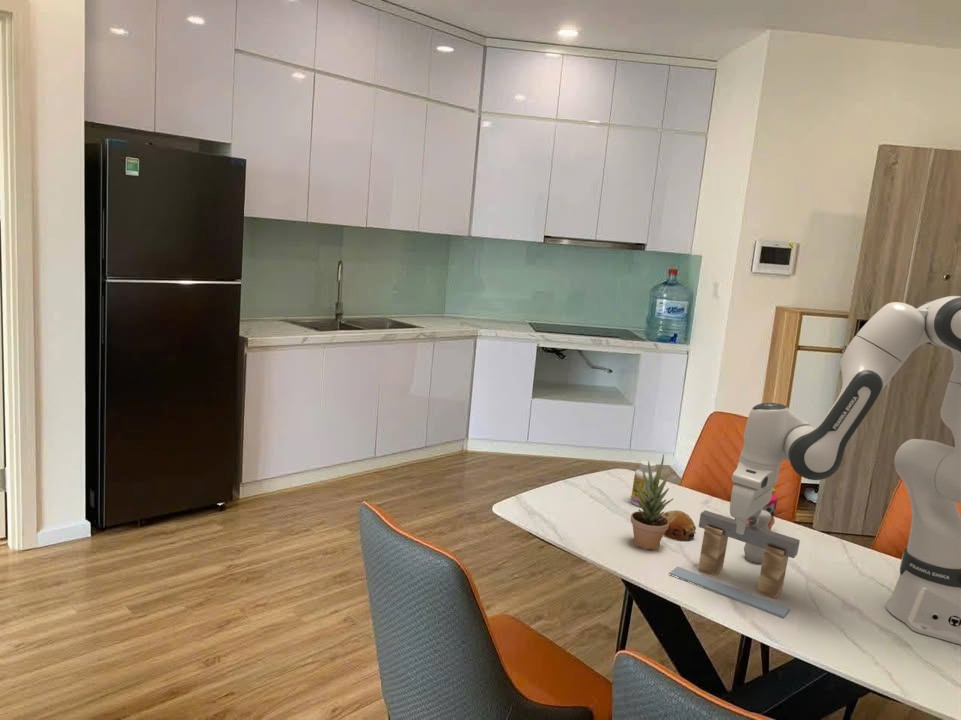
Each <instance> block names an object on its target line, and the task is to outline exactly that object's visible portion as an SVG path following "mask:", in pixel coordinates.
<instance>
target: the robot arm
mask: <svg viewBox="0 0 961 720" xmlns="http://www.w3.org/2000/svg"><path fill="white" fill-rule="evenodd" d="M924 344H927V345H930V346H936V347H938V348H943V349H949V350H950V351H951V354H952V356H953V368H952V370H951V374H950V375H949V376H950V377H949V381H948V384H947V387H946V389H945V390H946V391H945V393H944V398H943V400H942V404H941V408H940V418H941V420H942V422H943V423H944V424H945V426H947V427H948V429H949V430H950V431H951V433H952V437H953V440H954V446H951V445H948V444H945V443H942V442H940V441H936V440H930V439H922V438H921V439H920V438H910V439H907V440H906V441H905V442H903V443H902V444H901V445H900V446H899V447H898V449H897V450H896V453H895V456H894V459H893V460H894V462H893V463H894V470H895V471H896V473H897V475H898V477H900V478H901V480H902V482H903V484H904V486H905V488H906V491H907V494H908V497H909V500H910V501H909V502H910V506H911V524H910V531H909V536H908V543H907V546H906V547H905V549H904V551H903V553H902V556H901V560H900V565H899V576H898V580H897V582H896V585H895V587H894V588H893V589H894V590H893V592H892V594H891V596H890V597H889V599H888V600H887V602H886V604H885V607H886V609H887V611H888V613H890V614H891V615H892V616H894V617H895V618H897V619H898V620H900V621H901V622H903V623H904V624H906V626H907V627H909V629H910V630H912V631H913V632H916V633H917V634H922V635H925V636H929V637H932V638H936V639H939V640H943V641H946V642H950V643H953V644H956V645H957V644H958V645H960V646H961V514H960V512H959V509H958V506H957V504H959V505H961V296H960V295H950V296H945V297H936V298H932V299H930V300H927V301H925V302H923V303H921V304H918V305H916V306H913V305H911V304H908V303H905V302H899V301H898V302H897V301H894V302H893V301H892V302H888V303H886V304H885V305H883V306H882V307H881V308H880V309H879V310H877V311H876V313H875V314H873V315H872V316H871V317H870V318H869V319H868V321H866V322H865V324H864V325H863V326H862V327H861V328H860V329H859V331H858V332H857V333H856V335H854V337H853V338H852V340H851V341H850V342H849V343H848V345H847V347H846V348H845V351H844V353H843V354H842V357H841V359H840V361H839V369H840V372H841V379H842V383H841V384H842V385H841V389H840V393H839V395H838V397H837V398H836V400H835V401H834V403H833V404H832V406H831V407H830V408H829V410H828V412H827V413H826V414H825V416H824V417H823V419H822V420H821V421H820V423H819V424H818V425H816V424H814V423H812V422H810V421H807V420H805V419H803V418H801V417H800V416H798V415H797V414H795V413H794V412H793V411H792V410H791V409H790V408H789V407H788V406H787V405H784V404H782V403H776V402H763V403H762V402H761V403H759V404H756V405H754V406H753V407H752V408H751V409H750V411H749V414H748V417H747V420H746V424H745V427H744V428H745V429H744V433H743V447H742V450H740V451H741V452H740V454H739V459H738V463H737V466H736V469H735V470H734V471H733V474H732V476H731V483H734V484H733V485H732V488H731V489H732V490H731V496H730V505H729V515H730V518H733V519H735V518H736V523H737V528H736V533H738V534H741V535H743V534H744V533H745V532H746V528H747V527H746V521H747V519H748V518H749V523H750V524H753V525H756V524H757V523H758V520H759V516H760V514H761V511H762V509H763V507H764V506H765V505H767V504H768V503H769V502H770V500H771V496H772V490H773V488H774V486H775V485H777V483H778V480H779V473H780V469H781V464H782V461H788V462H789V463H790V465H791V467H792V469H793V470H794V472H795V473H796V474H798V475H799V476H800V477H802V478H804V479H807V480H810V481H822V480H825V479H828V478H830V477H832V476H833V475H835V473H836V472H837V471H838V470H839V468H840V467H841V464H842V462H843V461H842V460H843V456H844V453H845V449H846V446H847V444H848V442H849V440H850V439H851V438H852V436H853V435H854V434H855V432H856V430H857V429H858V427H859V426H860V424H861V423H862V421H864V419H865V418H866V416H867V414H868V413H869V411H870V410H871V408H872V407H873V405H874V404H875V402H876V400H877V398H878V397H879V396H880V394H881V393H882V392H883V390H884V389H885V387H886V386H887V384H888V383H889V382H890V381H891V380H892V379H893V377H894V376H895V375H896V373H898V371H899V370H900V369H901V367H902V366H903V364H904V363H905V362H906V361H907V359H908V358H909V356H910V355H911V354H912V353H913V352H914V351H915V350H916V349H917V348H919V347H921V346H922V345H924Z"/></svg>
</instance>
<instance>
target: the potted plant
mask: <svg viewBox="0 0 961 720" xmlns="http://www.w3.org/2000/svg"><path fill="white" fill-rule="evenodd" d="M664 459H665V454H662V458H661V462H660V464H659V465H658V467H657V471H656V473H657V474H655V475H656V477H654V482H653V477H652V472H651V467H650V463H649V461H650V460H647V461H648V474H649V483H650V486H649V483H648V481H647V478H646V476H645V473H644V470H643V479H644V483H645V487H646V491H647V495H646V493H645V491H644V492H643V491H642V489H641V488H640V487H639V485H638V484H637V486H638V489H639V491H640V493H641V495H642V497H643V498H644V500H645V502H644V500H643V499H642V497H641V495H640V493H639V491H638V489H637V487H636V490H637V493H638V495H639V497H640V500H641V501H640V500H639V501H638V500H636V501H637V502H638V504H639V505H640V507H639V508H638V510H637V511H634V512H632V513H631V514H630V523H631V524H632V531H633V542H634V545H635V544H636V545H635V546H637V545H638V546H639V548H640V547H642V548H641V549H643V548H646V549H645V550H648V549H655V550H657V549H658V548H659V547H660V545H661V540H662V538H663V537H664V533H665V531H666V530H667V529H668V527H669V520H668V519H667V518H666V517H664V516H662V514H663V513H665V511H663V510H664V509H665V508H666V506H667V505H668V504H669V503H671V502H672V501H673V500H674V498H671V499H669V500H668V501H667V499H664V498H665V496H666V495H667V493H668V492H669V490H670V488H669V487H668V488H667V489H665V488H664V487H665V486H666V484H667V481H668V476H666V477H665V478H664V479H663V480H662V482H661V484H660V479H661V475H662V471H663V467H664V463H665V461H664ZM664 489H665V490H664ZM663 490H664V492H663ZM663 499H664V500H663ZM640 508H641V509H642V510H641V509H640ZM638 546H637V547H638Z"/></svg>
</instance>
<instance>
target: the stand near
mask: <svg viewBox="0 0 961 720" xmlns="http://www.w3.org/2000/svg"><path fill="white" fill-rule="evenodd" d="M784 552H785V551H783V550H780V549H777V548H774V547H771V546H768V545H766V546H765V551H764V556H763V562H762V563H761V566H760V567H761V568H760V573H759V574H760V575H759V580H758V584H757V589H756V592H757V593H758V594H761V595H764V596H767V597H770V598H772V599H776V598H777V597H778V596H779V594H780V593H781V592H782V591H783V587H784V584H785V583H784V582H785V578H786V572H787V566H788V560H789V557H788V556H785V555H784Z"/></svg>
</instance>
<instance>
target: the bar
mask: <svg viewBox="0 0 961 720" xmlns="http://www.w3.org/2000/svg"><path fill="white" fill-rule="evenodd" d="M705 526H709V527H712V528H716V529H719V530H722V531H723V534H722V535H724V536H727V537H728V538H730V539H734V540H738V541H739V542H743V543H745V544H746V543H749V544H752V545H755V546H758V547H761V548H764V549H765V546H766V545H768V546H771V547H774V548H777V549H780V550H783V551H785V552H784V555H785V556H788V558H792V559H795V558H796V556H798V552H799V547H800V542H801V540H800V539H797V538H794V537H791V536H789V535H785V534H782V533H778V532H775V531H772V530H771V531H770V530H766V529H763V528H760V527H757V526H754V525H751V524H747V523H746V527H747V528H746V532H745V533H744V534H743V535H741V534H738V533H736V528H737V523H736V520H735V518H732V517H728V516H725V515H722V514H718V513H715V512H712V511H708V510H707V509H706V510H703V511H701V512H700V515H699V522H698V528H701V529H704V530H705Z"/></svg>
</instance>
